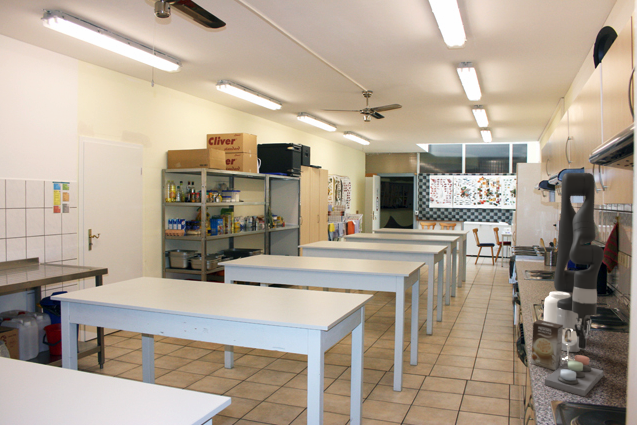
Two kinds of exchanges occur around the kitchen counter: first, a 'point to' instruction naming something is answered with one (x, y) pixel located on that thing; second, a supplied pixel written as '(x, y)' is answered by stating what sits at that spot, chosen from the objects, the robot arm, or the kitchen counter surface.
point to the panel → (578, 386)
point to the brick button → (582, 359)
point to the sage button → (575, 365)
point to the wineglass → (569, 340)
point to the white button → (568, 374)
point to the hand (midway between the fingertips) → (582, 347)
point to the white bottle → (553, 305)
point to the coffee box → (547, 344)
